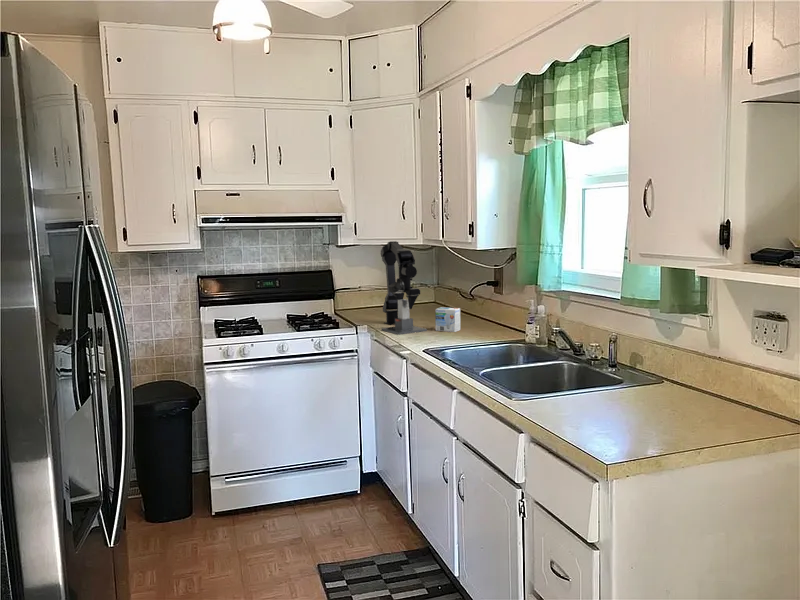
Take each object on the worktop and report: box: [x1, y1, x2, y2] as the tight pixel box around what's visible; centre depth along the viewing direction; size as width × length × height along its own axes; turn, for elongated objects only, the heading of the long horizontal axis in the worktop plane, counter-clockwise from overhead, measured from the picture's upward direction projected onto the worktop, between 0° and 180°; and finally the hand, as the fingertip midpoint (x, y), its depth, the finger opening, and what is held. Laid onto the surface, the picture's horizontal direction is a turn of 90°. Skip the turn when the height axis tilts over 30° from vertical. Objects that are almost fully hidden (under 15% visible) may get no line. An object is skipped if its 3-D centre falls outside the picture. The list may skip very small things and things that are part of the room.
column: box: [398, 298, 411, 320], centre depth 327 cm, size 4×4×10 cm
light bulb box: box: [434, 306, 461, 333], centre depth 326 cm, size 11×7×11 cm, turn 62°
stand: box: [381, 317, 428, 336], centre depth 328 cm, size 16×16×6 cm
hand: (405, 308), depth 328 cm, fingers open, 9 cm apart
